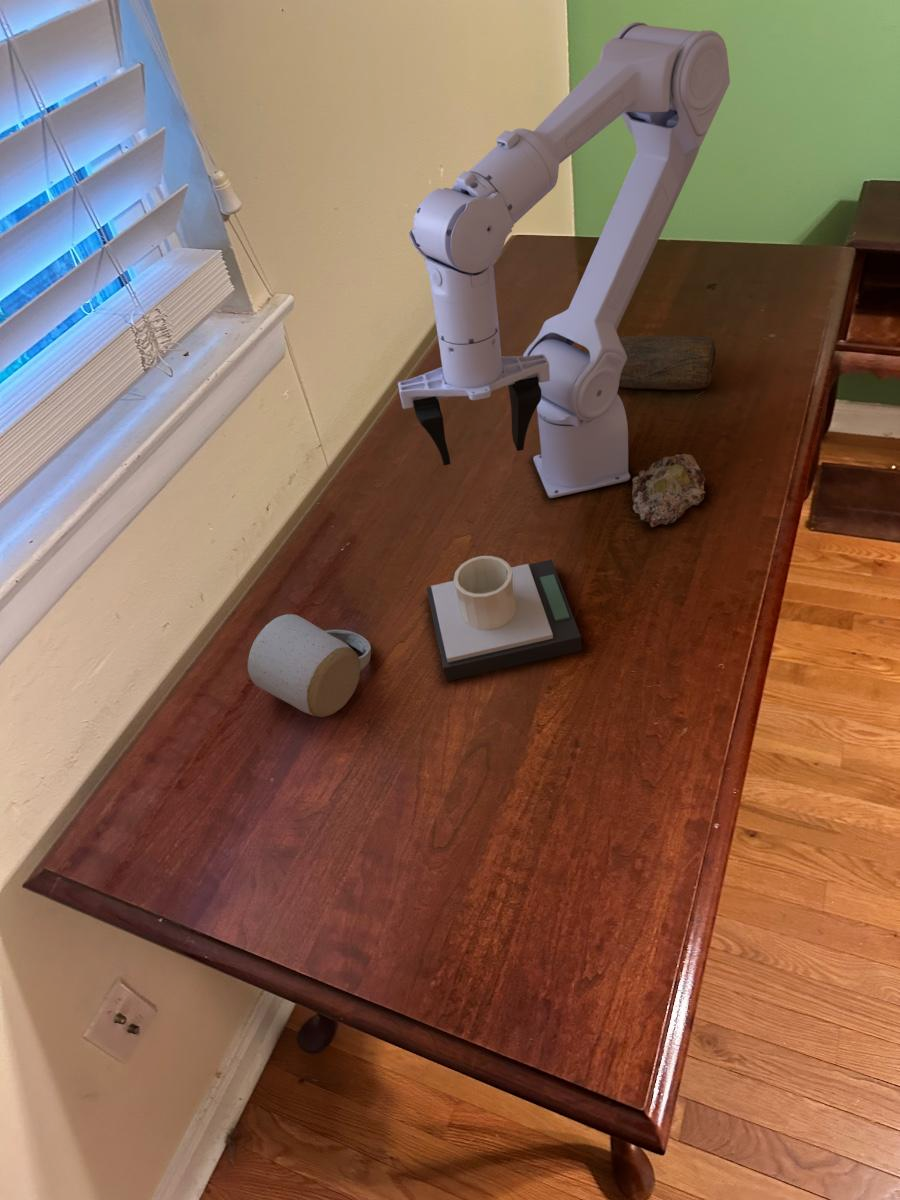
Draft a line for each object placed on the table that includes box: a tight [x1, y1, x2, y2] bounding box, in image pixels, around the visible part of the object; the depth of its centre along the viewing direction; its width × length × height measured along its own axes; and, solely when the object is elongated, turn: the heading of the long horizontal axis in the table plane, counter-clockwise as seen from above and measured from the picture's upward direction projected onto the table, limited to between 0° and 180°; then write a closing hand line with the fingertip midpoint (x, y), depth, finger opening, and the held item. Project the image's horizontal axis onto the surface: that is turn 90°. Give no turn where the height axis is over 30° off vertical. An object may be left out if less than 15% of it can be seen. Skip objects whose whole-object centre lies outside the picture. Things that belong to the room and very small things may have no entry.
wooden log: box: [618, 335, 717, 391], centre depth 106 cm, size 15×7×7 cm, turn 75°
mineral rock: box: [631, 453, 707, 528], centre depth 92 cm, size 11×4×8 cm
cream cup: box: [453, 555, 517, 630], centre depth 80 cm, size 5×5×4 cm
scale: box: [426, 559, 583, 682], centre depth 83 cm, size 13×11×3 cm
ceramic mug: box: [247, 613, 372, 718], centre depth 79 cm, size 11×8×8 cm
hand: (482, 452), depth 88 cm, fingers open, 7 cm apart
